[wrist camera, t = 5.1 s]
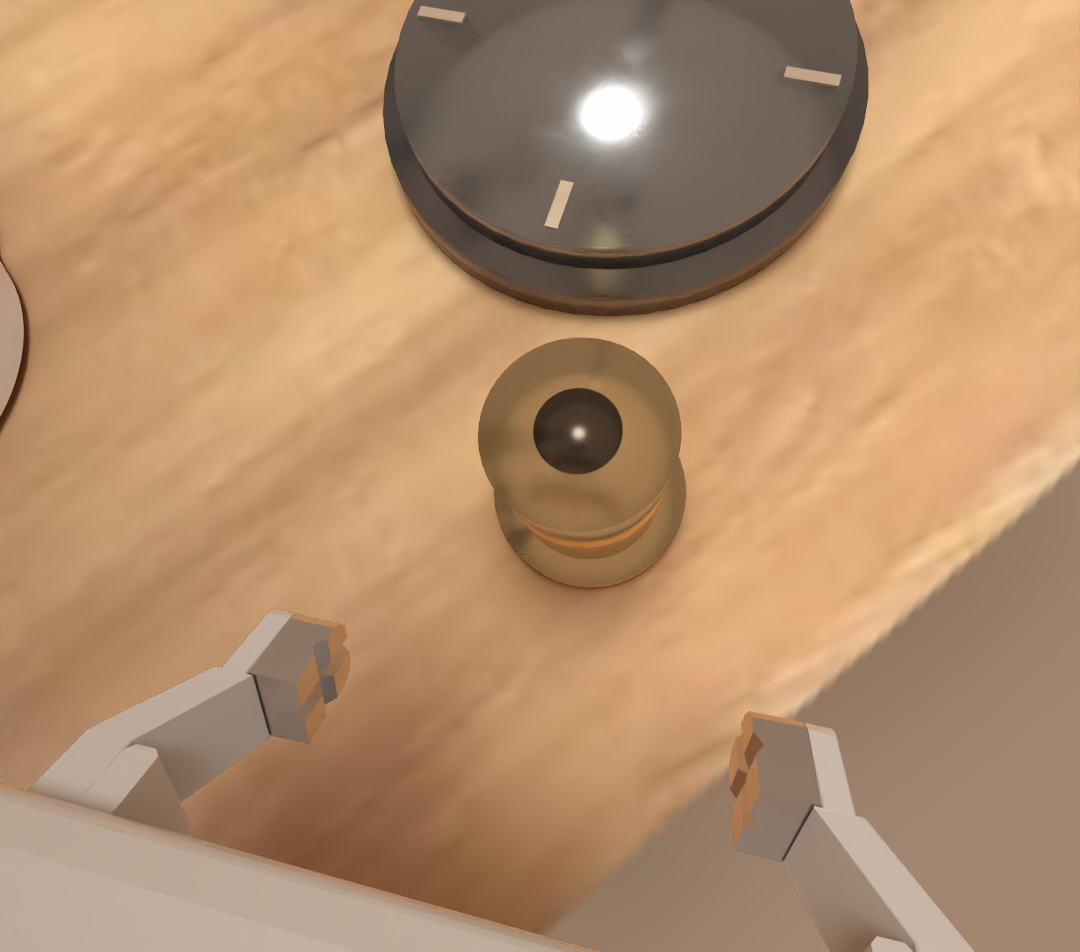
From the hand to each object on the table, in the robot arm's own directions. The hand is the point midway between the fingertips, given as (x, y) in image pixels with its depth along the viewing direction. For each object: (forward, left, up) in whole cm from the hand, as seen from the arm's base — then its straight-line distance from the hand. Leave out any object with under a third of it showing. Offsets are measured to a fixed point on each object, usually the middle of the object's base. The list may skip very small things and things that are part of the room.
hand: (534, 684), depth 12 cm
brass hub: (-1, +6, -9) cm, 11 cm away
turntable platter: (-5, +23, -8) cm, 25 cm away
